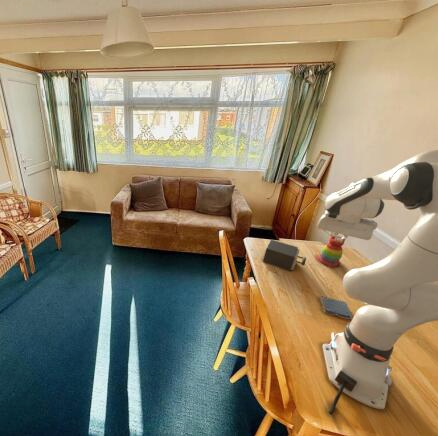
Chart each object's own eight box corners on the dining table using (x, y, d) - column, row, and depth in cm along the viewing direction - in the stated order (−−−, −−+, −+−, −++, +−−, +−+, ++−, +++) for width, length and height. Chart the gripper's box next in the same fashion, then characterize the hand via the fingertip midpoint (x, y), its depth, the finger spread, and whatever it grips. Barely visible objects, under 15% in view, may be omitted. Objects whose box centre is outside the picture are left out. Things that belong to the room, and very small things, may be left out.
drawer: (304, 263, 135) (308, 252, 132) (301, 272, 127) (306, 261, 124) (271, 252, 145) (274, 242, 141) (267, 261, 137) (270, 250, 133)
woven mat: (345, 304, 108) (346, 301, 107) (352, 321, 99) (354, 318, 98) (318, 297, 112) (320, 294, 111) (323, 313, 103) (325, 310, 102)
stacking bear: (338, 260, 138) (349, 235, 131) (339, 269, 131) (351, 243, 123) (317, 255, 144) (326, 230, 136) (317, 263, 136) (327, 237, 128)
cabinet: (293, 260, 139) (298, 247, 135) (290, 271, 130) (294, 257, 126) (267, 252, 147) (271, 239, 143) (262, 261, 138) (266, 248, 134)
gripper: (378, 219, 102) (365, 245, 108) (322, 208, 113) (314, 232, 119) (380, 224, 97) (366, 251, 103) (322, 212, 108) (313, 237, 114)
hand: (338, 241), depth 111 cm, fingers closed
